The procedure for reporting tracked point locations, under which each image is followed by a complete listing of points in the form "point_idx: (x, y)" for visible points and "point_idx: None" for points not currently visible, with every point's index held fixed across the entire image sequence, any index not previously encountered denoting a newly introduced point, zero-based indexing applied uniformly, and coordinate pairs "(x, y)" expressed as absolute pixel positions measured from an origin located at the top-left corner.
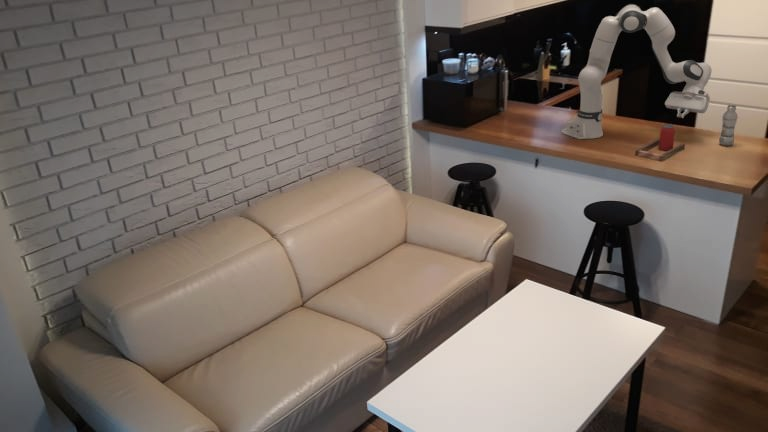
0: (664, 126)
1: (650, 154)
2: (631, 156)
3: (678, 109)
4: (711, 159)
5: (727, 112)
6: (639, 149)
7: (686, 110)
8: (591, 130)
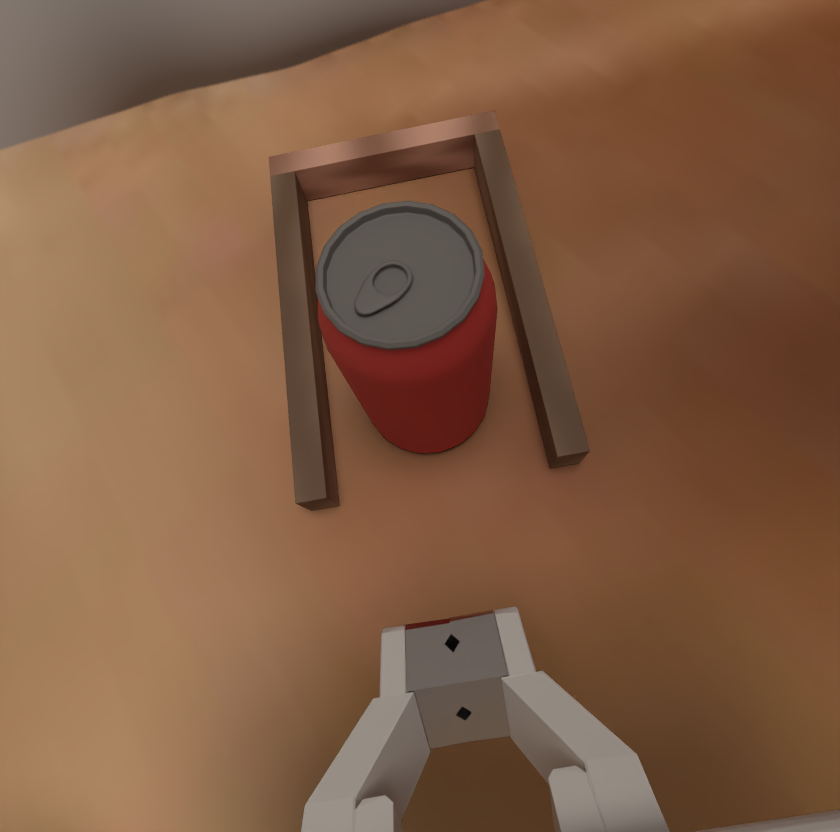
0: (441, 246)
1: (367, 141)
2: None
3: (599, 761)
4: (25, 451)
5: None
6: (489, 141)
7: (331, 812)
8: None
